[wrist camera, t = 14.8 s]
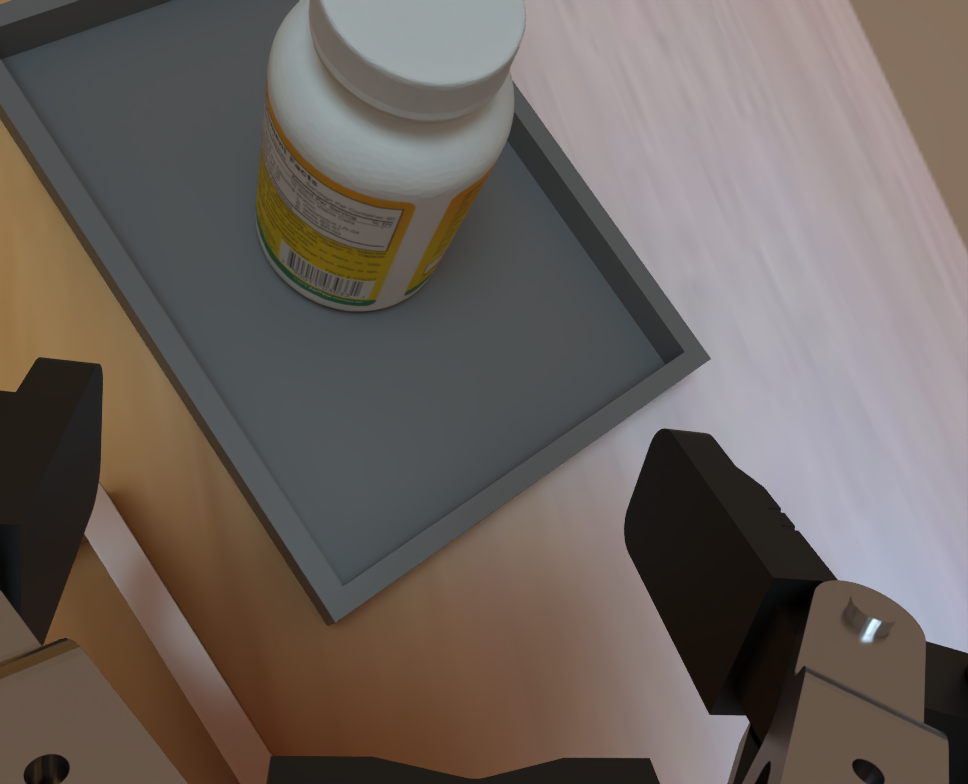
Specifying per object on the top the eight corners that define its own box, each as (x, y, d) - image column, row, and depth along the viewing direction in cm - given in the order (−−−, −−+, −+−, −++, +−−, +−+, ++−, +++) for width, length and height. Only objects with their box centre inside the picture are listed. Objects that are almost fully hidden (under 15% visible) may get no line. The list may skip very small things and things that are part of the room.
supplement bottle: (289, 337, 23) (327, 141, 14) (230, 164, 24) (232, -120, 15) (469, 291, 25) (601, 92, 16) (408, 131, 26) (501, -137, 17)
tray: (-34, 65, 24) (-54, 21, 22) (364, -71, 29) (372, -116, 27) (327, 625, 22) (335, 622, 20) (681, 377, 27) (710, 358, 25)
